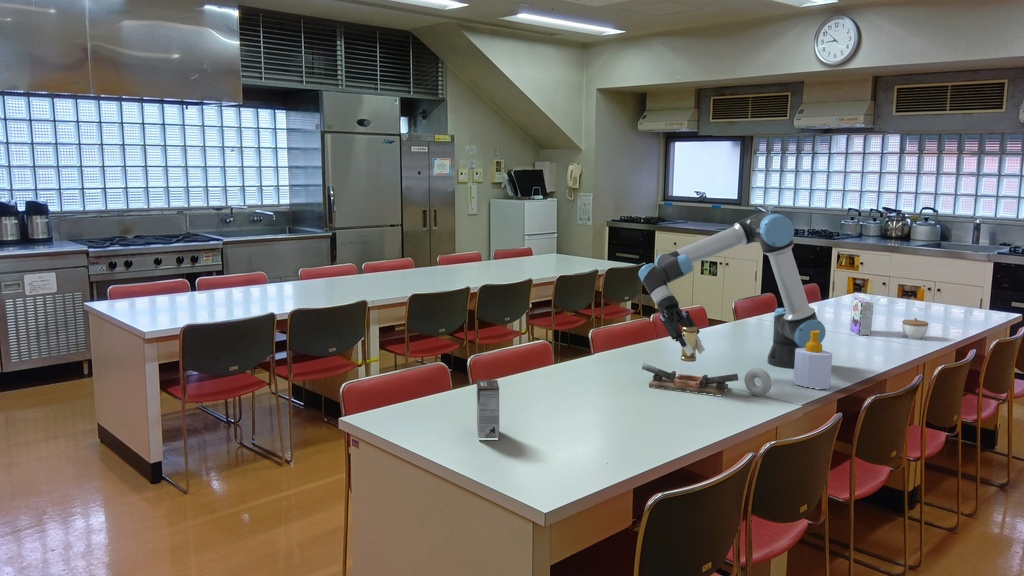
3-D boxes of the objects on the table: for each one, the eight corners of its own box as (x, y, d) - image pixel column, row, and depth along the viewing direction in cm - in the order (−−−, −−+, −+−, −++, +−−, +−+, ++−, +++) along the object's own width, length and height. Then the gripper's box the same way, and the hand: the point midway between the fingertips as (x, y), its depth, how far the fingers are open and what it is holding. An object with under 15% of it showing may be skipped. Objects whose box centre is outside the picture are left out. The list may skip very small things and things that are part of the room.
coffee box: (476, 430, 228) (476, 379, 225) (497, 430, 229) (497, 379, 226) (477, 441, 219) (477, 388, 217) (499, 440, 220) (499, 387, 217)
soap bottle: (834, 387, 273) (837, 332, 270) (825, 392, 267) (829, 336, 264) (798, 380, 282) (801, 327, 278) (789, 384, 276) (792, 331, 273)
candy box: (849, 329, 370) (852, 296, 368) (862, 330, 369) (864, 297, 367) (858, 335, 357) (860, 301, 354) (871, 336, 356) (874, 302, 353)
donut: (772, 397, 260) (774, 370, 259) (767, 399, 258) (769, 371, 256) (747, 391, 268) (748, 364, 266) (741, 393, 265) (743, 366, 264)
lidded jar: (931, 340, 347) (933, 320, 345) (908, 340, 347) (909, 320, 345) (919, 335, 357) (921, 316, 356) (897, 335, 357) (898, 316, 356)
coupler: (697, 359, 272) (698, 326, 270) (694, 362, 267) (695, 329, 265) (682, 357, 274) (684, 325, 272) (679, 360, 270) (680, 328, 268)
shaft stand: (740, 389, 270) (741, 369, 269) (734, 398, 259) (735, 378, 258) (646, 377, 285) (647, 359, 284) (637, 385, 275) (637, 366, 274)
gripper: (676, 304, 286) (708, 355, 275) (642, 308, 276) (673, 361, 265) (687, 292, 280) (720, 343, 269) (652, 296, 271) (684, 350, 260)
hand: (696, 352), depth 267 cm, fingers closed on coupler, 5 cm apart
